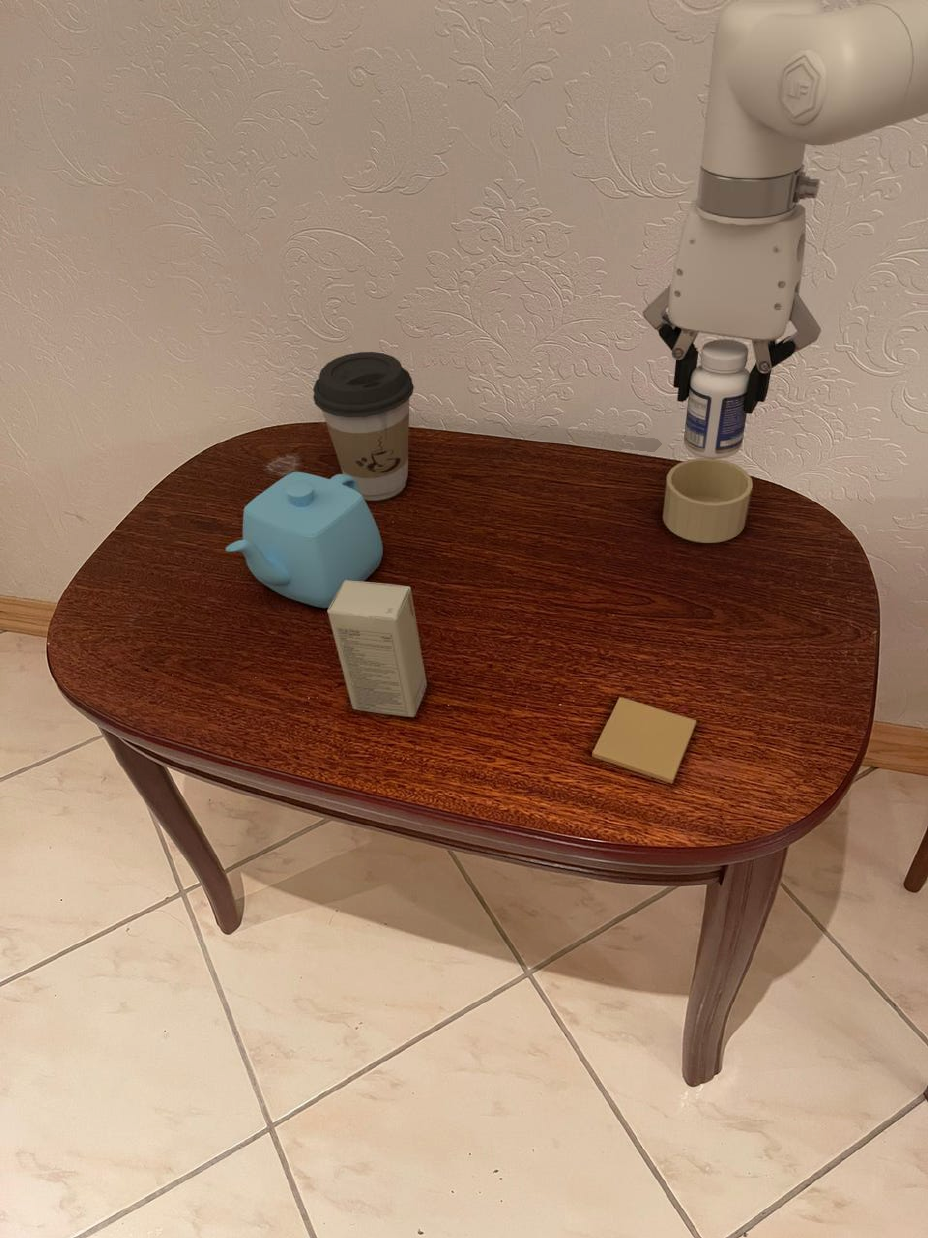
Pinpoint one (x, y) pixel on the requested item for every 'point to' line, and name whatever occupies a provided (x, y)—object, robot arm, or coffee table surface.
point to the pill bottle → (717, 400)
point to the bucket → (707, 500)
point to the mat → (645, 739)
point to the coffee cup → (368, 419)
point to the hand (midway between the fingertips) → (718, 398)
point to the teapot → (310, 537)
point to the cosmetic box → (379, 647)
